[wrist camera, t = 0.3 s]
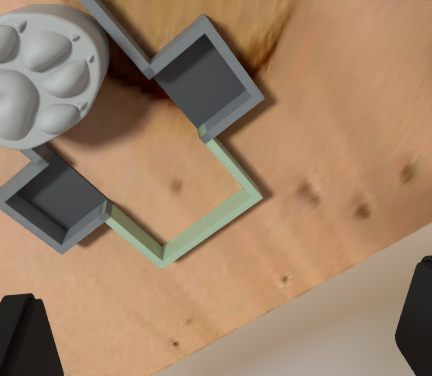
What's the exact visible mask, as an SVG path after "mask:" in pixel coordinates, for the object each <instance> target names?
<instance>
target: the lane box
mask: <svg viewBox="0 0 432 376" xmlns="http://www.w3.org/2000/svg"><path fill="white" fill-rule="evenodd" d="M80 2H81V3H82V4H83V5H84V6H85V7H86V8H87V10H88V11H89V12H90V13H91V14H92V15H93V16H94V18H95V19H96V20H97V21H98V22H99V23H100V24H101V26H102V27H103V28H104V29H105V30H106V31H107V32H108V34H109V35H110V36H111V37H112V38H113V39H114V40H115V42H116V43H117V44H118V45H119V46H120V47H121V48H122V50H123V51H124V52H125V53H126V54H127V55H128V56H129V58H130V59H131V60H132V61H133V62H134V63H135V64H136V66H137V67H138V68H139V69H140V70H141V71H142V72H143V74H144V75H145V76H146V77H147V78H148V79H149V80H150V79H151V78H152V77H153V78H154V79H155V80H156V81H157V83H158V84H159V85H160V86H161V87H162V88H163V90H164V91H165V92H166V93H167V94H168V95H169V96H170V98H171V99H172V100H173V101H174V102H175V103H176V105H177V106H178V107H179V108H180V109H181V110H182V111H183V113H184V114H185V115H186V116H187V117H188V118H189V120H190V121H191V122H192V123H193V124H194V125H195V127H196V128H197V130H198V134H199V137H200V139H201V140H202V141H203V142H204V143H205V145H206V146H207V147H208V148H209V149H210V150H211V151H212V153H213V154H214V155H215V156H216V157H217V158H218V159H219V161H220V162H221V163H222V164H223V165H224V166H225V167H226V169H227V170H228V171H229V172H230V173H231V174H232V175H233V177H234V178H235V179H236V180H237V181H238V182H239V183H240V185H241V186H242V187H243V188H242V189H241V190H239V191H238V192H237V193H235V194H234V195H232V196H231V197H230V198H228V199H227V200H226V201H224V202H223V203H221V204H220V205H219V206H217V207H216V208H215V209H213V210H212V211H210V212H209V213H208V214H206V215H205V216H203V217H202V218H201V219H199V220H198V221H197V222H195V223H194V224H192V225H191V226H190V227H188V228H187V229H186V230H184V231H183V232H181V233H180V234H179V235H177V236H176V237H174V238H173V239H172V240H170V241H169V242H168V243H166V244H165V245H163V246H161V245H160V244H158V243H157V242H156V241H155V240H154V239H153V238H152V237H150V236H149V235H148V234H147V233H146V232H145V231H144V230H142V229H141V228H140V227H139V226H138V225H137V224H136V223H135V222H133V221H132V220H131V219H130V218H129V217H128V216H127V215H125V214H124V213H123V212H122V211H121V210H120V209H119V208H117V207H116V206H115V205H114V204H113V203H112V202H111V201H110V200H108V199H107V198H106V197H105V196H104V195H103V194H102V193H100V192H99V191H98V190H97V189H96V188H95V187H94V186H93V185H91V184H90V183H89V182H88V181H87V180H86V179H85V178H83V177H82V176H81V175H80V174H79V173H78V172H77V171H75V170H74V169H73V168H72V167H71V166H70V165H69V164H68V163H66V162H65V161H64V160H63V159H62V158H61V157H60V156H58V155H57V154H56V153H55V152H54V151H53V150H52V149H50V148H49V147H48V146H47V145H46V144H45V143H44V144H42V145H39V146H37V147H34V148H31V149H26V150H19V151H21V152H22V153H23V154H24V155H25V156H27V157H28V158H29V159H30V160H31V162H29V163H28V164H27V165H26V166H25V167H24V168H22V169H21V170H20V171H19V172H18V173H17V174H16V175H14V176H13V177H12V178H11V179H10V180H9V181H7V182H6V183H5V184H4V185H3V186H2V187H0V209H1V210H2V211H3V212H5V213H6V214H7V215H9V216H10V217H11V218H13V219H14V220H15V221H17V222H18V223H20V224H21V225H22V226H24V227H25V228H26V229H28V230H29V231H30V232H32V233H33V234H34V235H36V236H37V237H38V238H40V239H41V240H43V241H44V242H45V243H47V244H48V245H49V246H51V247H52V248H53V249H55V250H56V251H57V252H59V253H60V254H64V253H65V252H66V251H68V250H69V249H70V248H71V247H73V246H74V245H75V244H77V243H78V242H79V241H81V240H82V239H83V238H84V237H86V236H87V235H88V234H90V233H91V232H92V231H94V230H95V229H96V228H97V227H99V226H100V225H101V224H103V223H104V222H105V223H106V224H108V225H109V226H110V227H111V228H112V229H113V230H115V231H116V232H117V233H118V234H119V235H121V236H122V237H123V238H124V239H125V240H127V241H128V242H129V243H130V244H131V245H133V246H134V247H135V248H136V249H137V250H139V251H140V252H141V253H142V254H143V255H144V256H146V257H147V258H148V259H149V260H150V261H152V262H153V263H154V264H155V265H156V266H158V267H159V268H160V269H161V270H162V269H163V268H165V267H166V266H168V265H169V264H171V263H172V262H173V261H175V260H176V259H178V258H179V257H180V256H182V255H183V254H185V253H186V252H187V251H189V250H190V249H192V248H193V247H195V246H196V245H197V244H199V243H200V242H202V241H203V240H204V239H206V238H207V237H209V236H210V235H211V234H213V233H214V232H216V231H217V230H219V229H220V228H221V227H223V226H224V225H226V224H227V223H228V222H230V221H231V220H233V219H234V218H235V217H237V216H238V215H240V214H241V213H243V212H244V211H245V210H247V209H248V208H250V207H251V206H252V205H254V204H255V203H257V202H258V201H259V200H261V199H262V198H263V197H262V195H261V192H260V190H259V188H258V186H257V185H256V184H255V182H254V181H253V180H252V179H251V178H250V176H249V175H248V174H247V173H246V172H245V171H244V169H243V168H242V167H241V166H240V165H239V163H238V162H237V161H236V160H235V159H234V157H233V156H232V155H231V154H230V153H229V152H228V150H227V149H226V148H225V147H224V146H223V144H222V143H221V142H220V141H219V140H218V139H217V137H216V136H217V135H218V134H219V133H221V132H222V131H223V130H225V129H226V128H227V127H228V126H230V125H231V124H232V123H234V122H235V121H236V120H238V119H239V118H240V117H241V116H243V115H244V114H245V113H247V112H248V111H249V110H251V109H252V108H253V107H254V106H256V105H257V104H258V103H260V102H261V101H262V100H264V99H265V97H264V96H263V95H262V93H261V92H260V90H259V89H258V88H257V86H256V85H255V84H254V82H253V81H252V79H251V78H250V77H249V75H248V74H247V72H246V71H245V70H244V68H243V67H242V65H241V64H240V63H239V61H238V60H237V59H236V57H235V56H234V54H233V53H232V52H231V50H230V49H229V47H228V46H227V45H226V43H225V42H224V41H223V39H222V38H221V36H220V35H219V34H218V32H217V31H216V29H215V28H214V27H213V25H212V24H211V22H210V21H209V20H208V18H207V17H206V16H205V15H204V14H202V15H201V16H200V17H199V18H197V19H196V20H195V21H194V22H193V23H192V24H190V25H189V26H188V27H187V28H186V29H185V30H183V31H182V32H181V33H180V34H179V35H178V36H176V37H175V38H174V39H173V40H172V41H171V42H169V43H168V44H167V45H166V46H165V47H164V48H162V49H161V50H160V51H159V52H158V53H157V54H155V55H154V56H153V57H152V58H151V59H150V58H149V57H148V56H147V55H146V53H145V52H144V51H143V50H142V49H141V48H140V46H139V45H138V44H137V43H136V42H135V40H134V39H133V38H132V37H131V36H130V35H129V33H128V32H127V31H126V30H125V29H124V27H123V26H122V25H121V24H120V23H119V21H118V20H117V19H116V18H115V17H114V16H113V14H112V13H111V12H110V11H109V10H108V8H107V7H106V6H105V5H104V4H103V3H102V1H101V0H80Z"/></svg>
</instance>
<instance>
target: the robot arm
mask: <svg viewBox="0 0 432 376" xmlns="http://www.w3.org/2000/svg"><path fill="white" fill-rule="evenodd" d="M395 340H396V344H397V346H398V348H399V350H400V351H401V353H402V355H403V356H404V358H405V359H406V361H407V362H408V364H409V366H410V367H411V369H412V370H413V371H414V373H415V375H416V376H432V256H425V257H424V258H423V259H422V261H421V262H420V263H418V264H417V266H416V268H415V271H414V275H413V278H412V281H411V284H410V288H409V291H408V294H407V297H406V300H405V304H404V307H403V310H402V313H401V316H400V320H399V323H398V326H397V330H396V333H395ZM0 376H64V372H63V369H62V365H61V362H60V358H59V355H58V352H57V348H56V345H55V341H54V338H53V334H52V331H51V328H50V324H49V321H48V317H47V314H46V310H45V307H44V304H43V301H42V299H35V297H34V295H33V294H32V293H28V294H18V295H7V296H4V297H3V299H2V300H1V302H0Z"/></svg>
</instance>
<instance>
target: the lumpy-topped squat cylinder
mask: <svg viewBox="0 0 432 376" xmlns="http://www.w3.org/2000/svg"><path fill="white" fill-rule="evenodd" d="M109 56H110V50H109V41H108V38H107V35H106V33H105V31H104V29H103V28H102V26H101V25H100V24H99V23H98V21H96V20H95V19H94V18H93V17H91V16H90V15H88V14H87V13H85V12H83V11H80V10H78V9H75V8H73V7H70V6H66V5H58V4H32V5H28V6H25V7H22V8H19V9H17V10H14V11H11V12H8V13H5V14H3V15H1V16H0V146H2V147H4V148H8V149H15V150H26V149H31V148H34V147H37V146H39V145H42V144H44V143H46V142H48V141H50V140H52V139H54V138H56V137H58V136H59V135H61V134H63V133H64V132H66V131H67V130H69V129H70V128H72V127H73V126H74V125H76V124H77V123H78V122H80V121H81V120H82V119H83V118H84V117H85V116H86V115H87V113H88V112H89V110H90V109H91V107H92V105H93V103H94V101H95V99H96V96H97V94H98V92H99V89H100V87H101V84H102V82H103V80H104V77H105V75H106V72H107V69H108V65H109Z"/></svg>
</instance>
